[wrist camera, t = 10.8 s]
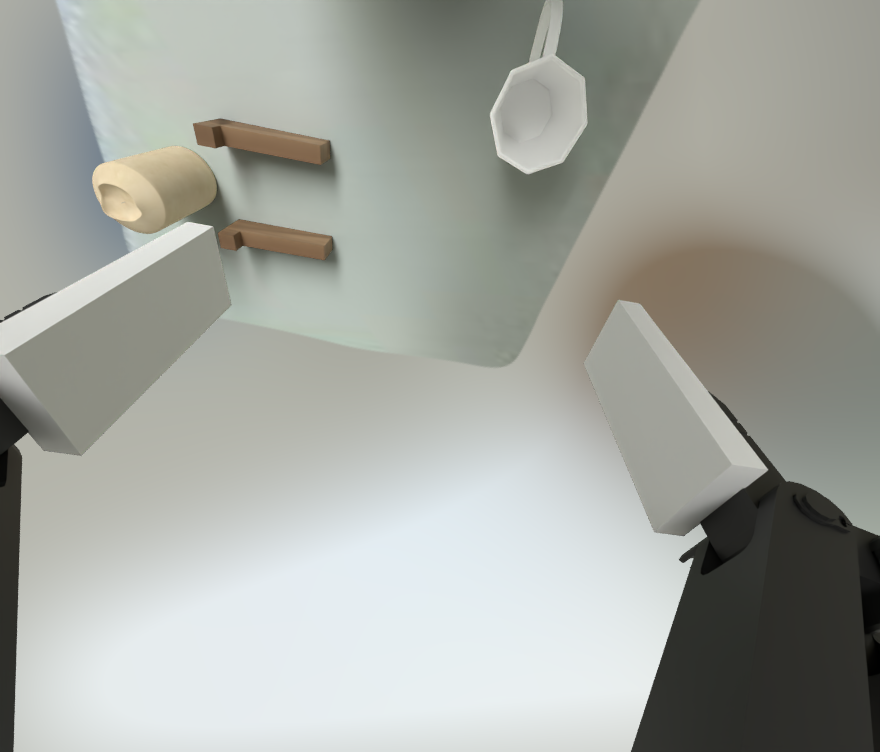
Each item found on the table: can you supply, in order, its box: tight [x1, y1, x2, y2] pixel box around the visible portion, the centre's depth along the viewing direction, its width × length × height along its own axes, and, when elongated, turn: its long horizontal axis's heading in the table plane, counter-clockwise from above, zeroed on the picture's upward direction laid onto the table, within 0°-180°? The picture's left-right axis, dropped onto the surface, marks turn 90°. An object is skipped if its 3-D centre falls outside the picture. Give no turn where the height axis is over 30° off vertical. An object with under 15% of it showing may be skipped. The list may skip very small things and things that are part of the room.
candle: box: [92, 146, 217, 234], centre depth 33 cm, size 6×6×10 cm
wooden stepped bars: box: [193, 119, 332, 260], centre depth 35 cm, size 10×10×4 cm
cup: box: [490, 0, 587, 174], centre depth 28 cm, size 7×10×8 cm
